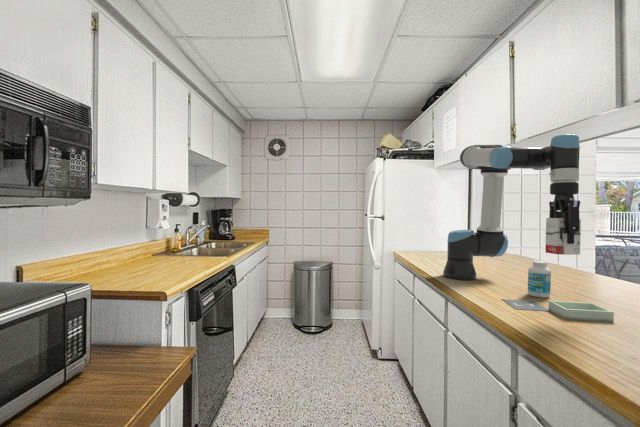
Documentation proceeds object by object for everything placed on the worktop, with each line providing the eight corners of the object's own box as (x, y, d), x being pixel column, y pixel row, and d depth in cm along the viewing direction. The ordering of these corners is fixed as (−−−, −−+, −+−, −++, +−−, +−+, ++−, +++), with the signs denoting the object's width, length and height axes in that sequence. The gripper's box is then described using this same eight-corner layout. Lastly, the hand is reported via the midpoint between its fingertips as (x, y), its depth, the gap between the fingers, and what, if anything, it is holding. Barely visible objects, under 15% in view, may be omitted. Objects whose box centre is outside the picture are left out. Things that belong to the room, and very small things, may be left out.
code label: (501, 299, 121) (501, 299, 121) (533, 301, 120) (533, 300, 120) (515, 309, 110) (515, 308, 110) (551, 311, 108) (551, 311, 108)
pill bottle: (523, 294, 130) (524, 260, 129) (534, 292, 133) (535, 259, 132) (542, 299, 123) (543, 263, 122) (554, 297, 126) (555, 262, 126)
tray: (548, 309, 110) (548, 300, 110) (592, 312, 108) (593, 303, 108) (564, 318, 101) (565, 309, 101) (613, 321, 99) (613, 312, 99)
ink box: (556, 254, 104) (557, 217, 104) (544, 252, 109) (545, 217, 109) (581, 254, 105) (582, 218, 105) (568, 252, 110) (568, 218, 110)
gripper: (537, 184, 117) (536, 249, 117) (567, 179, 98) (566, 255, 98) (561, 185, 115) (559, 250, 115) (595, 179, 97) (594, 257, 97)
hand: (562, 252), depth 107 cm, fingers closed on ink box, 6 cm apart
